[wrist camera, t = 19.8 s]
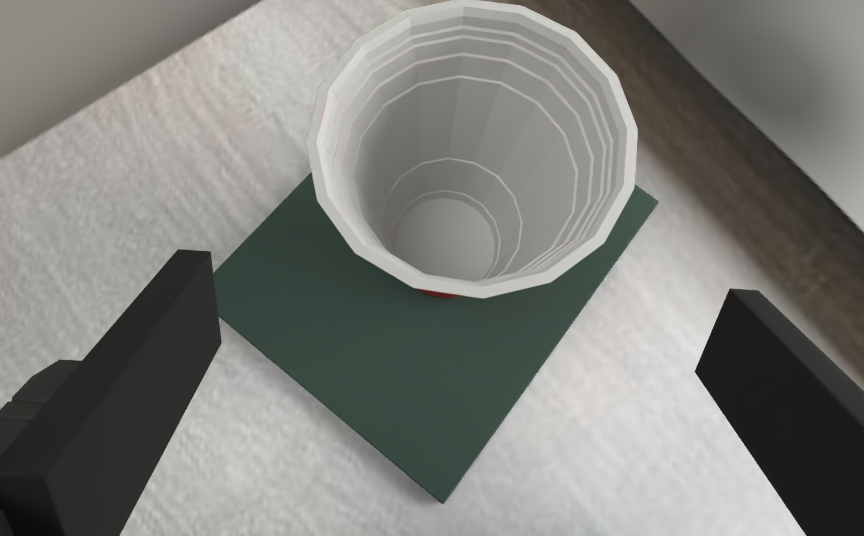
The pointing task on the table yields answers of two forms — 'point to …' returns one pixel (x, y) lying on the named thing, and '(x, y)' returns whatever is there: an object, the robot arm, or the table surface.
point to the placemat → (401, 335)
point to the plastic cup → (472, 148)
